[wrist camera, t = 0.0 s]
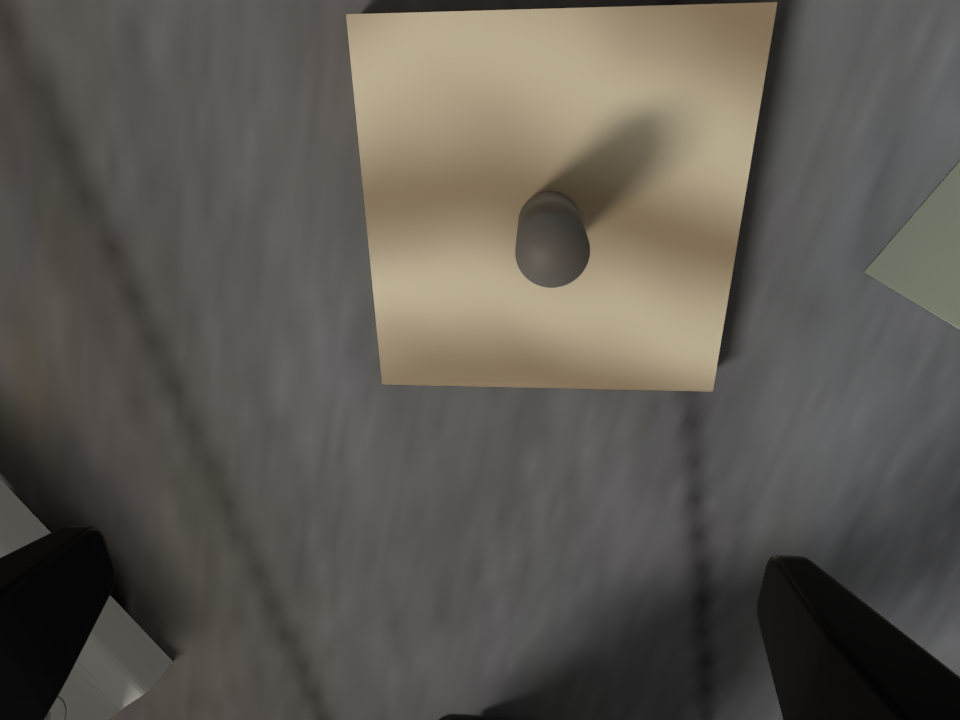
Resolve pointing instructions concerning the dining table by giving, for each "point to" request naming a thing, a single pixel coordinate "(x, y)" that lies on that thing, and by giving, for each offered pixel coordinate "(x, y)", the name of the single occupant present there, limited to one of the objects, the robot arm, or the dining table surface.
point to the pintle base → (556, 189)
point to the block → (927, 254)
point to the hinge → (91, 640)
